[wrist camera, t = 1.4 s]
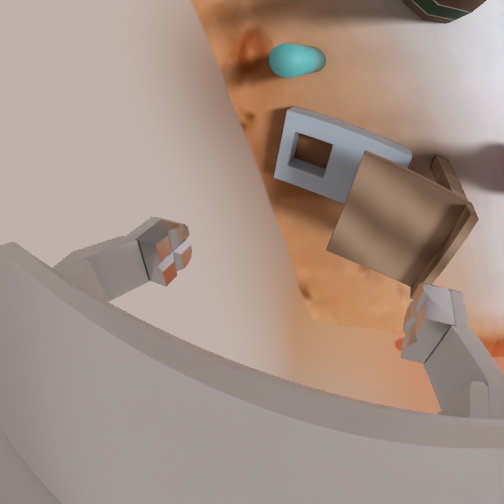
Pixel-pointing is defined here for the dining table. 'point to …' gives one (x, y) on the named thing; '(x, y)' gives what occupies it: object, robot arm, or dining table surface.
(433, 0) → the beer bottle
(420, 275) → the toy chair
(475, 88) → the dining table surface
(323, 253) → the dining table surface
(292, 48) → the peg
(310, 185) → the socket
